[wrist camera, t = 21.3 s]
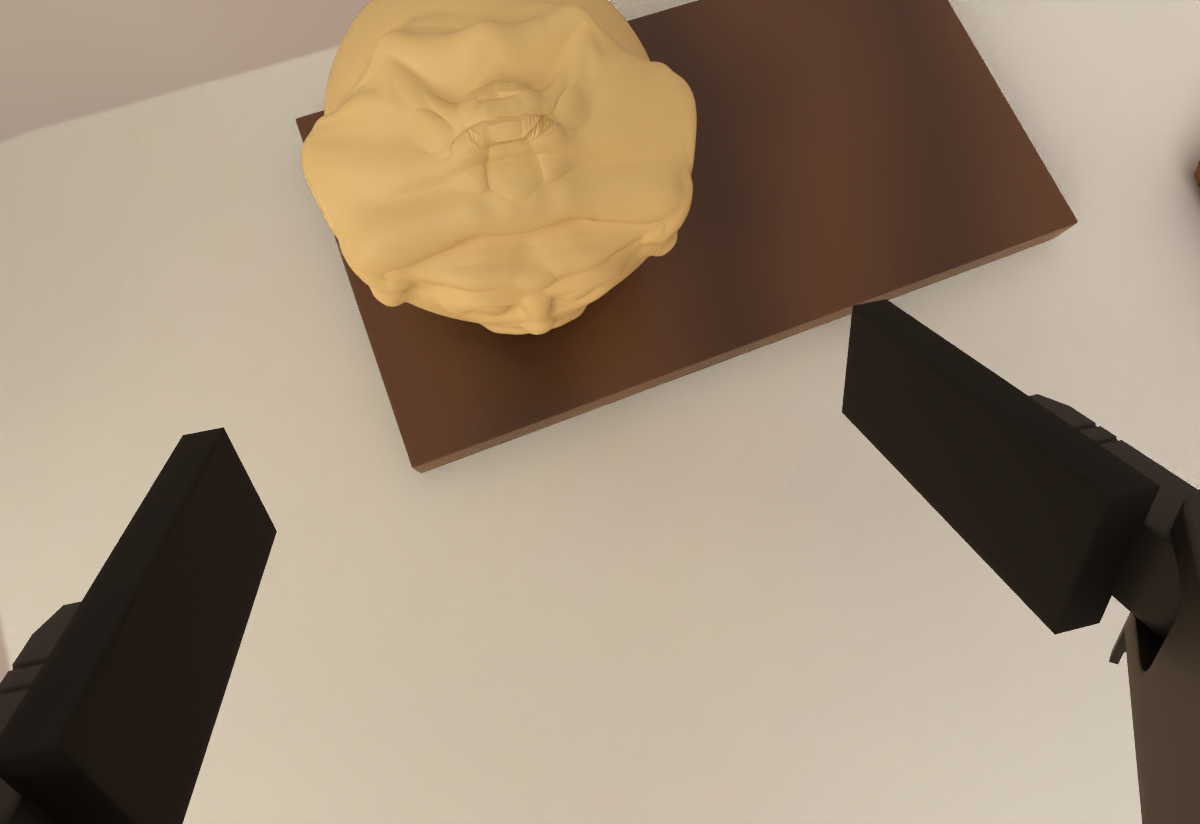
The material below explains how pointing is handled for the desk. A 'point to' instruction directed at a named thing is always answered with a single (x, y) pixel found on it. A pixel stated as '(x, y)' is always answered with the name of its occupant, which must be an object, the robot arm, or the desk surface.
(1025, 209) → the cutting board
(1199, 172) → the bread
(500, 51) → the sculpture
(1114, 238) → the desk surface
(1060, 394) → the desk surface
